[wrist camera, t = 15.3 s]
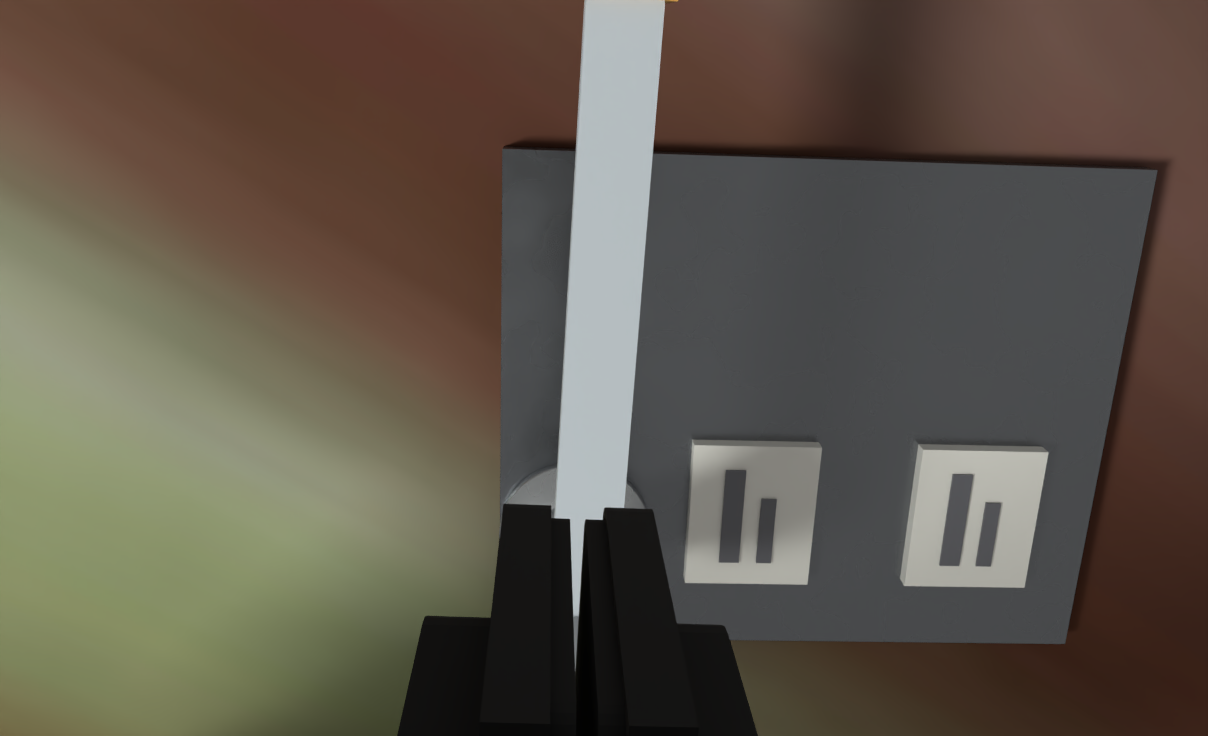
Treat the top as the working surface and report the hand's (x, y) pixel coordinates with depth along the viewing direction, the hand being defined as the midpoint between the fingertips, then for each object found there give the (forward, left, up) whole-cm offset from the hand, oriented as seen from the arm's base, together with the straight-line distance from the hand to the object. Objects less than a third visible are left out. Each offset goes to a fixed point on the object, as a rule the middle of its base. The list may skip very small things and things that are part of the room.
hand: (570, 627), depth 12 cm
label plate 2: (-12, -17, -29) cm, 35 cm away
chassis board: (-8, -10, -29) cm, 31 cm away
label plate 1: (-12, -8, -29) cm, 32 cm away
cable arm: (-3, -1, -21) cm, 21 cm away
